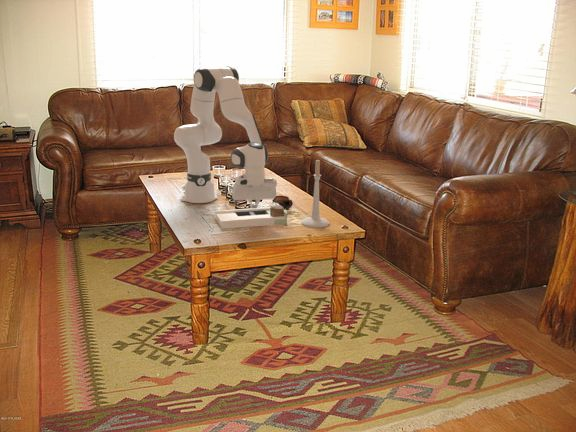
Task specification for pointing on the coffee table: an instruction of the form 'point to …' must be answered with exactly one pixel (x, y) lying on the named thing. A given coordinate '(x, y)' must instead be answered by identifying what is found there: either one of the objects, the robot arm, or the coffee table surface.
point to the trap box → (248, 218)
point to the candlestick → (315, 204)
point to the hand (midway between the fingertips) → (253, 208)
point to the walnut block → (276, 211)
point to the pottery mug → (283, 201)
